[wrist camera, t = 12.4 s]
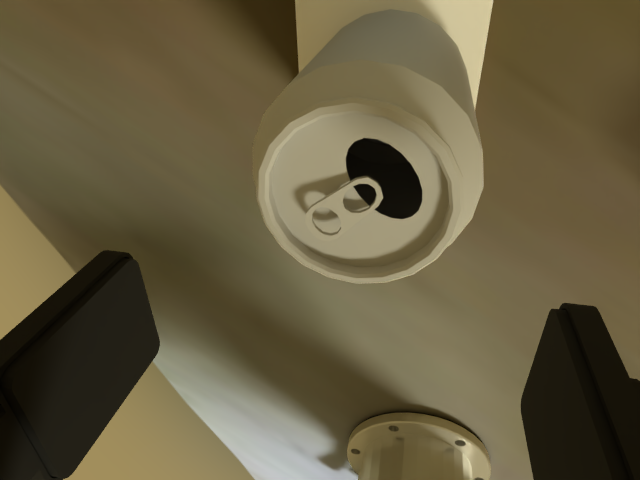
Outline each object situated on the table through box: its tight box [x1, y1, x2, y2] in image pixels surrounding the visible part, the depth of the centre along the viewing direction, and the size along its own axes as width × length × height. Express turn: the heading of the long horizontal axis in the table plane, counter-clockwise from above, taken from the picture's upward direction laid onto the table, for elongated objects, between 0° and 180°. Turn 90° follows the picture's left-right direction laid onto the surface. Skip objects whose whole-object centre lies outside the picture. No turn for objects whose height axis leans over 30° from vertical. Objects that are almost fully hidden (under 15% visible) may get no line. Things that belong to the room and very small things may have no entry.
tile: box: [295, 0, 493, 109], centre depth 23 cm, size 9×9×1 cm
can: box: [253, 9, 483, 284], centre depth 18 cm, size 8×8×12 cm
